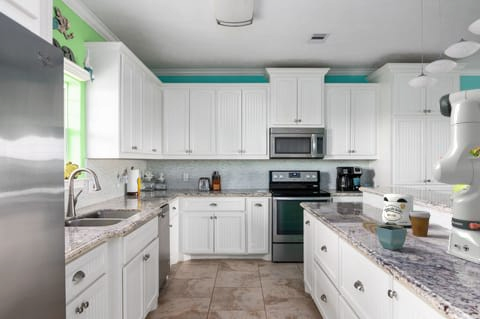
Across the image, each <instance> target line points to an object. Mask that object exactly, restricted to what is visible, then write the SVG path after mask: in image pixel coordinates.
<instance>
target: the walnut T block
mask: <svg viewBox="0 0 480 319" xmlns="http://www.w3.org/2000/svg"><path fill="white" fill-rule="evenodd" d="M361 224H362V226H361V228H363V229H365V230H367V231H369V232H371V233H373V234H375V235H377V228H376V227H379V226H395V227H400V228H404V229H405V227H402V226H399V225H387V224H379V223H376V222H374V221H361Z"/></svg>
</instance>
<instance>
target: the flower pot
mask: <svg viewBox="0 0 480 319" xmlns="http://www.w3.org/2000/svg"><path fill="white" fill-rule="evenodd" d="M376 228H377V234H376V236H377V239H378V240H377V241H378V242H379V244H380V246H381V247H382V248H384V249H387V250H391V251H395V250H401V249H402V248H403V246H404V245H405V241H406V239H407V238H406V237H407V231H408V229H407V228H405V227H404V228H400V227H395V226H379V227H376Z"/></svg>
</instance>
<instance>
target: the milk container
mask: <svg viewBox="0 0 480 319" xmlns="http://www.w3.org/2000/svg"><path fill="white" fill-rule="evenodd" d="M410 211H414V196H413V194H405V193H385V194H383V210H382V214H381V216H382V218H381V219H382V222H383V223H384V225H399V226H402V227H404V228H407V227H412V225H411V218H410V214H409V213H410Z"/></svg>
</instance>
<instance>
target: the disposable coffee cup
mask: <svg viewBox="0 0 480 319" xmlns="http://www.w3.org/2000/svg"><path fill="white" fill-rule="evenodd" d="M409 214H410V218H411V225H412V226H411V231H412V232H411V233H412V236H415V237H417V238H418V237H419V238H427V237H428V235H429V234H428V232H429V226H430V218H431V216H432V215H431V213H430V212H429V211H427V210H426V211H425V210H424V211H423V210H413V211H410V213H409Z"/></svg>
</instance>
